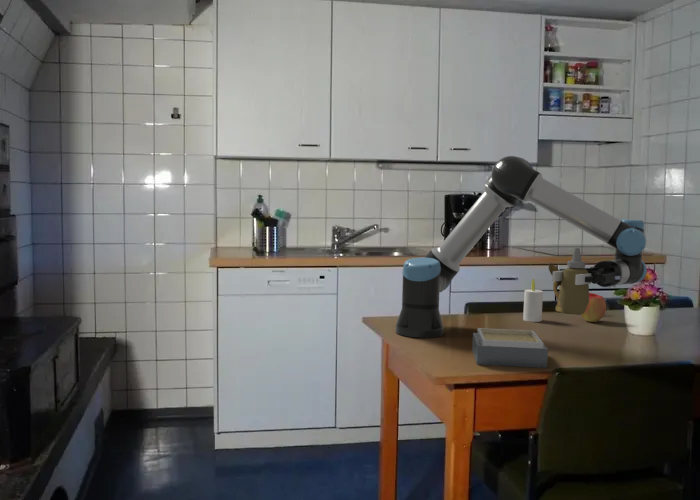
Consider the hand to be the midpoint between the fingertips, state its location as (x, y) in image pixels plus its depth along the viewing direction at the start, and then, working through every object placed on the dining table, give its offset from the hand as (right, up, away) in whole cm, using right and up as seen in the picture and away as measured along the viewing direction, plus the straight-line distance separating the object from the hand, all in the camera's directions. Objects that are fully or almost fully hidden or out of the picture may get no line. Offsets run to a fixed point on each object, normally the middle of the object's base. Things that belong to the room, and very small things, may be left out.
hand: (565, 278), depth 185 cm
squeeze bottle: (+4, -10, +4) cm, 11 cm away
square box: (-15, -22, +1) cm, 27 cm away
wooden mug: (+24, -16, +77) cm, 83 cm away
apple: (+28, -18, +57) cm, 66 cm away
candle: (+6, -18, +57) cm, 60 cm away
